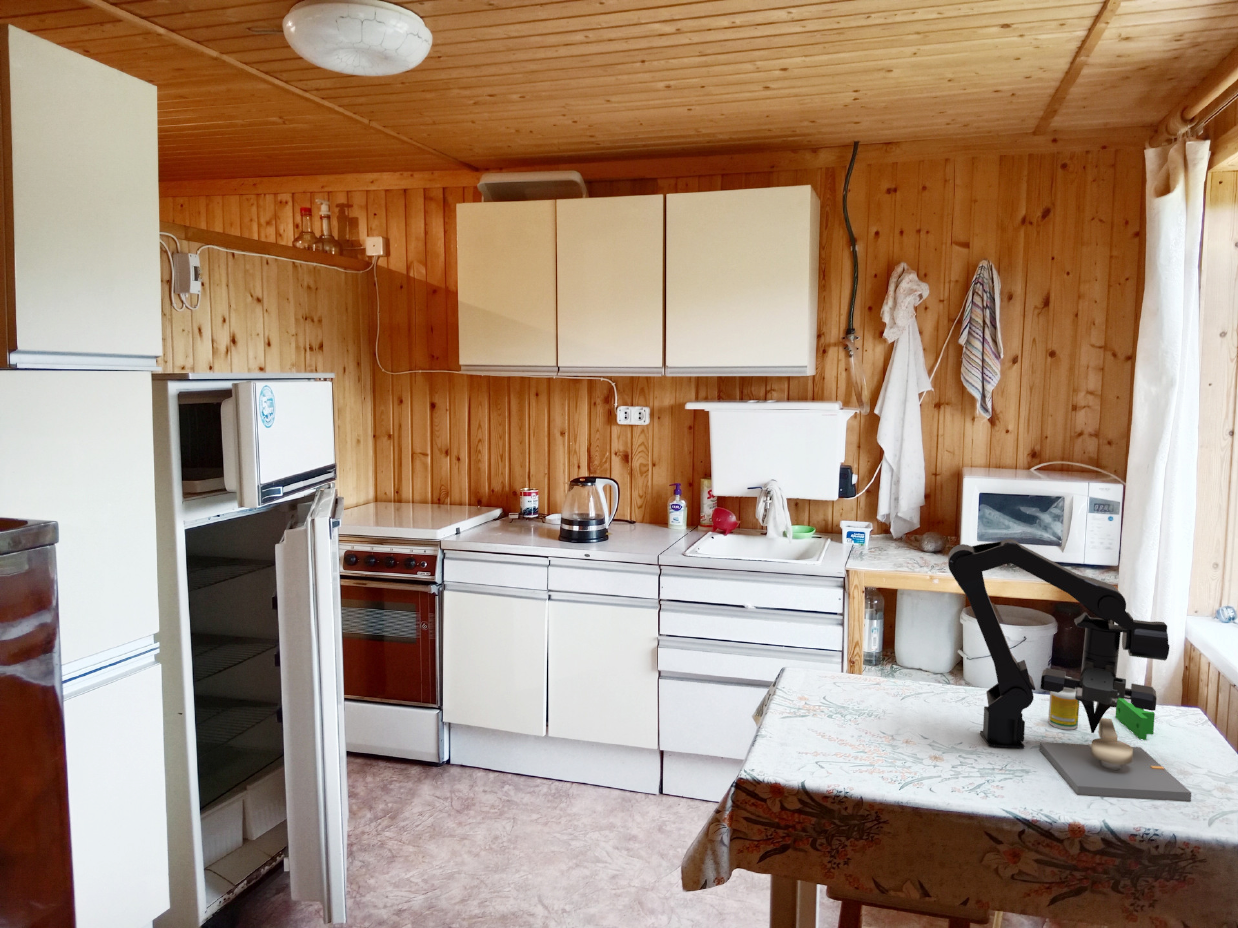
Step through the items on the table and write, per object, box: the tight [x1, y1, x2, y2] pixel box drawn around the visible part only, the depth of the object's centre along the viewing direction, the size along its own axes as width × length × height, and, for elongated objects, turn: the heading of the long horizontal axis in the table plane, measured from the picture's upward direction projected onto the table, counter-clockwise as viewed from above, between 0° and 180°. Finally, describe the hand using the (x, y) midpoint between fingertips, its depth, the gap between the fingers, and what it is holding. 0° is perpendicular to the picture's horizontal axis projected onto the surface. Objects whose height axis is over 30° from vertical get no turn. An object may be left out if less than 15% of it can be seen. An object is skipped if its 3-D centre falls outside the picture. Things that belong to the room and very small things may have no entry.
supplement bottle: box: [1047, 676, 1080, 731], centre depth 178 cm, size 5×5×10 cm
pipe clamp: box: [1115, 698, 1156, 741], centre depth 176 cm, size 11×4×5 cm, turn 173°
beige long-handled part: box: [1091, 717, 1133, 765], centre depth 159 cm, size 14×6×3 cm, turn 157°
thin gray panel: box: [1038, 741, 1192, 802], centre depth 156 cm, size 18×18×3 cm
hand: (1092, 732), depth 164 cm, fingers closed
